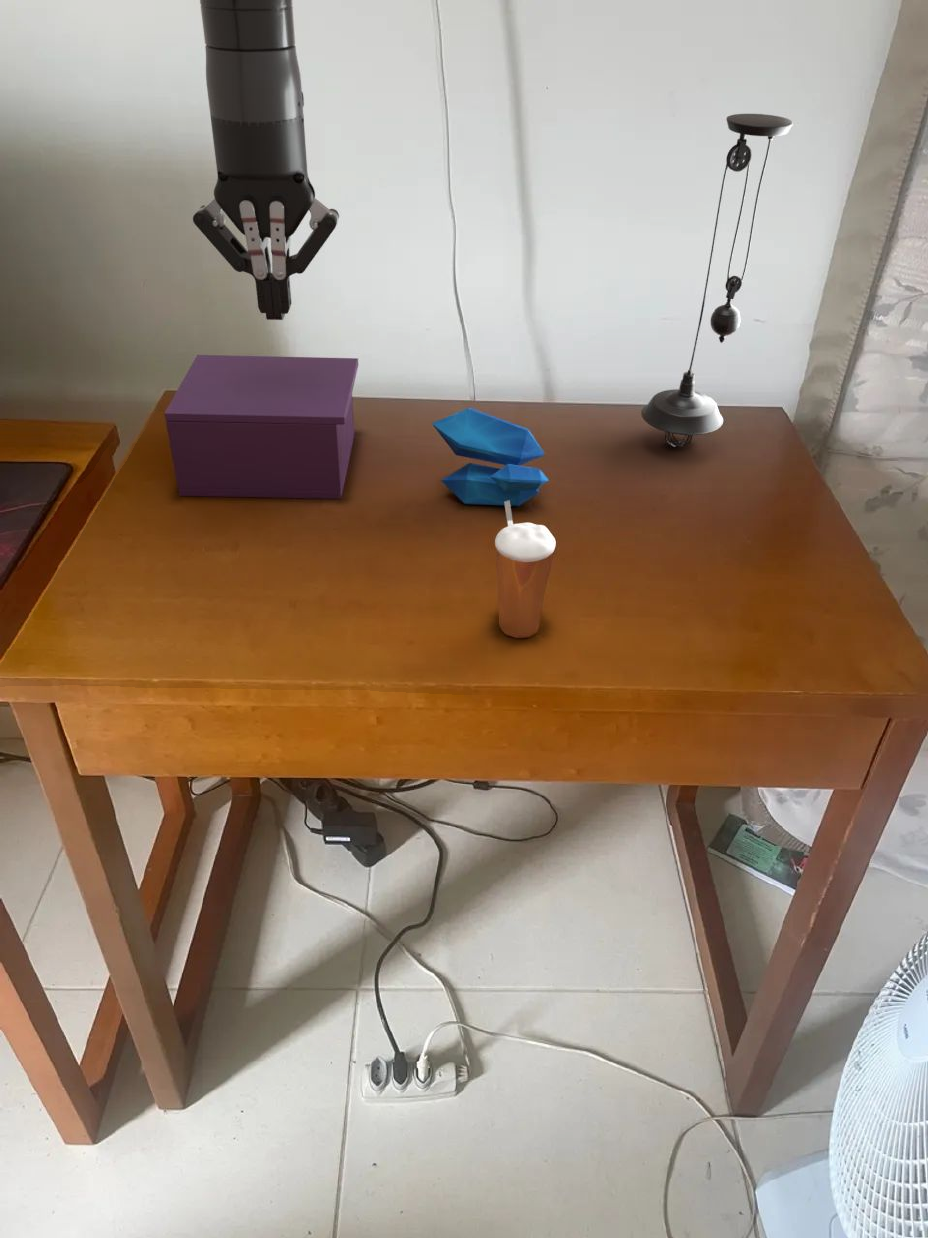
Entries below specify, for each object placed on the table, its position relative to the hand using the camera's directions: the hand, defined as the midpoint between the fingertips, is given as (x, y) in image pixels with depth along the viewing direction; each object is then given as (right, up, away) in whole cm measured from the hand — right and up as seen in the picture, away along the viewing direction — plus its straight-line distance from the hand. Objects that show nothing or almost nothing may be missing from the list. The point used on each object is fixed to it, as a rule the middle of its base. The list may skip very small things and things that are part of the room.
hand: (276, 316), depth 91 cm
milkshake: (+22, -28, -11) cm, 37 cm away
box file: (-2, -12, +9) cm, 15 cm away
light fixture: (+41, -9, +14) cm, 44 cm away
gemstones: (+20, -16, +5) cm, 26 cm away
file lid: (-2, -6, +4) cm, 8 cm away
